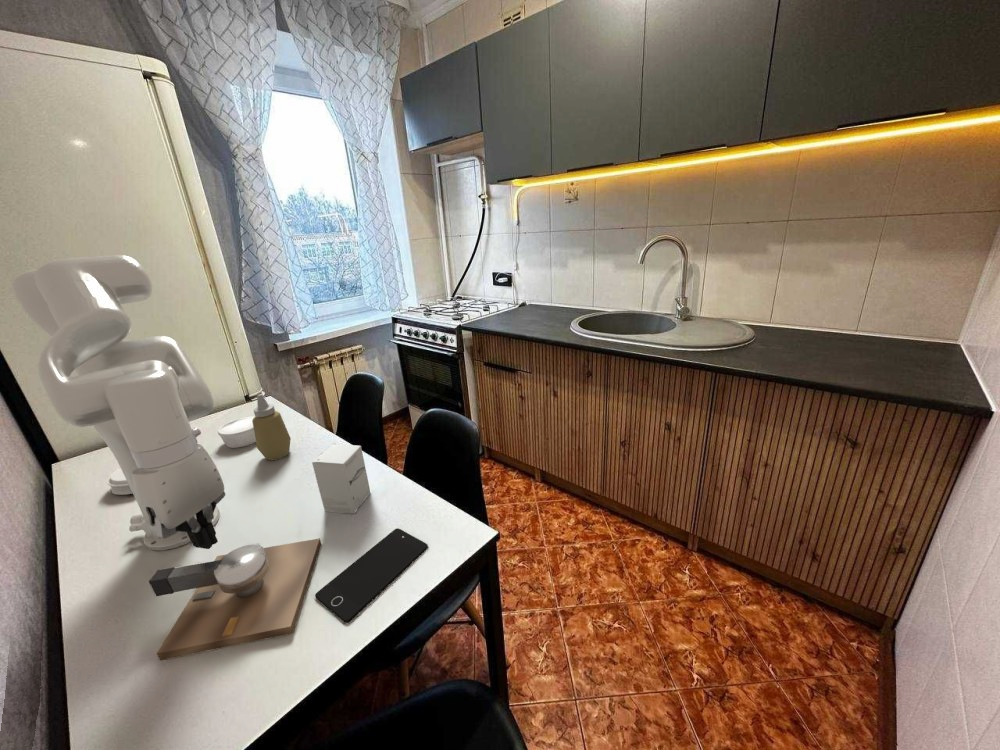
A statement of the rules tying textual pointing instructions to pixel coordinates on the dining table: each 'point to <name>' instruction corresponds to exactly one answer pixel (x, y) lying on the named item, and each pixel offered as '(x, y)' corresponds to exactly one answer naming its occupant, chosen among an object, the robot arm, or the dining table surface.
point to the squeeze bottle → (270, 431)
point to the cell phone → (370, 574)
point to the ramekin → (238, 432)
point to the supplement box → (341, 478)
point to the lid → (119, 483)
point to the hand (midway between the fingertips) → (206, 544)
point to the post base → (246, 605)
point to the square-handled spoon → (215, 573)
